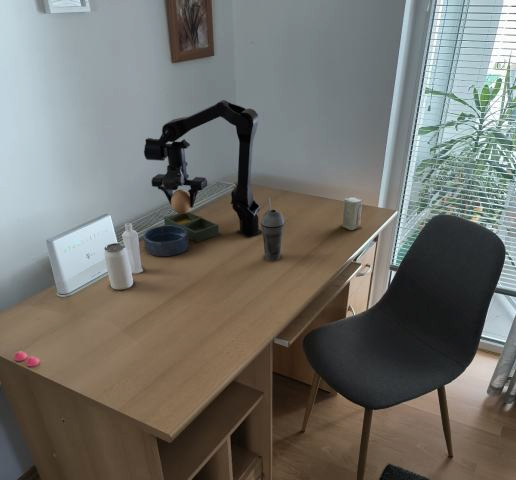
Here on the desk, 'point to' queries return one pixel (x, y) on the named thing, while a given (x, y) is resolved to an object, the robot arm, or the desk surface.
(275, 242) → the beverage cup
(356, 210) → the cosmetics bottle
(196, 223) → the carton
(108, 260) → the can
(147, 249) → the bowl
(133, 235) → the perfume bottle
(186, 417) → the desk surface
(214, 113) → the robot arm
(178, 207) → the egg
